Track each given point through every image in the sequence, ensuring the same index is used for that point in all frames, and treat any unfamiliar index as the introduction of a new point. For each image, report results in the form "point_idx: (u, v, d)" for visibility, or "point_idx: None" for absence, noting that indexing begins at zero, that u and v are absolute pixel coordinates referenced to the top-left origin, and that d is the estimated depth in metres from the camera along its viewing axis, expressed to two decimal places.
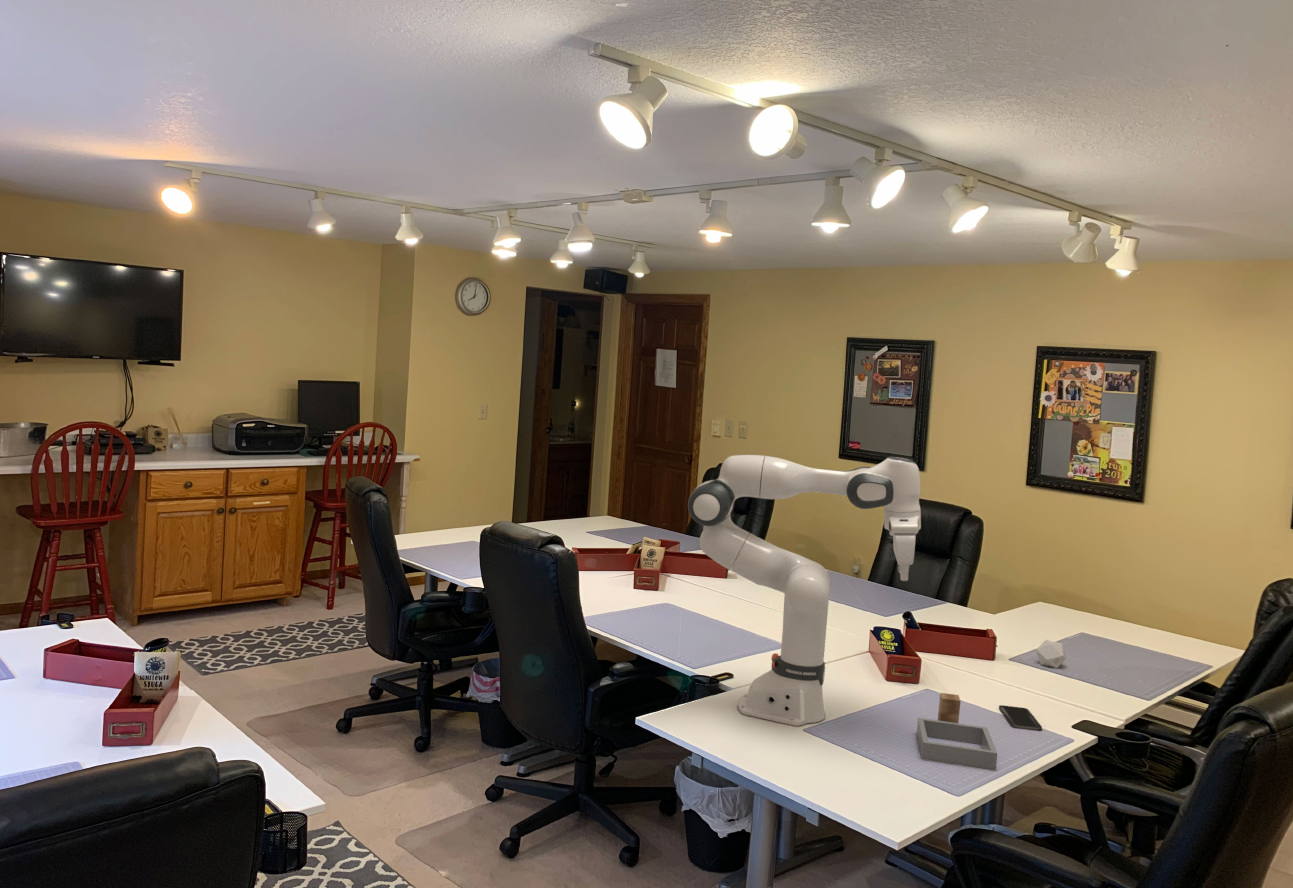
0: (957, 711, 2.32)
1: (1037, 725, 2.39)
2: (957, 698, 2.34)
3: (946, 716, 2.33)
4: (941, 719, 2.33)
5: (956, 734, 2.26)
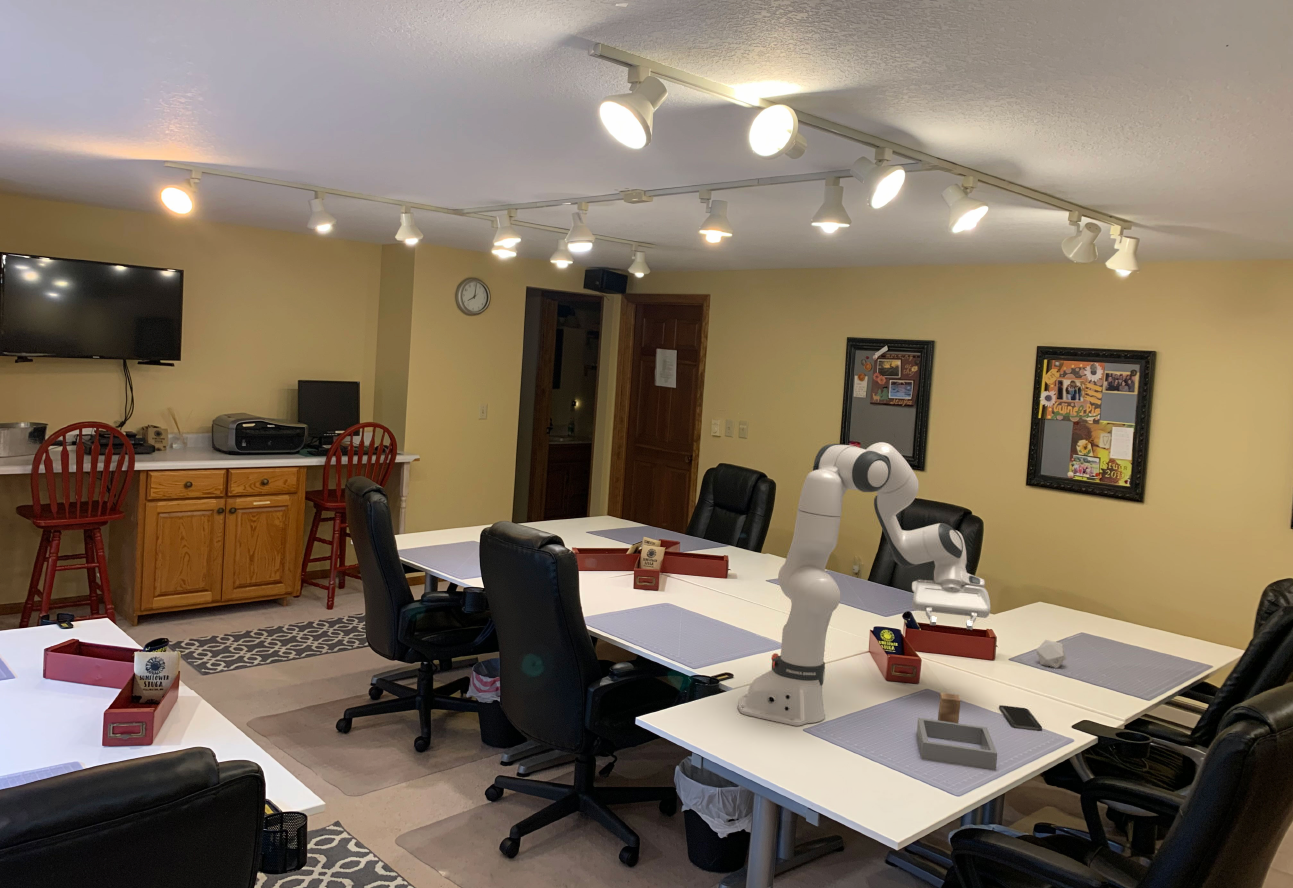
0: (957, 711, 2.32)
1: (1037, 725, 2.39)
2: (957, 698, 2.34)
3: (946, 716, 2.33)
4: (941, 719, 2.33)
5: (956, 734, 2.26)
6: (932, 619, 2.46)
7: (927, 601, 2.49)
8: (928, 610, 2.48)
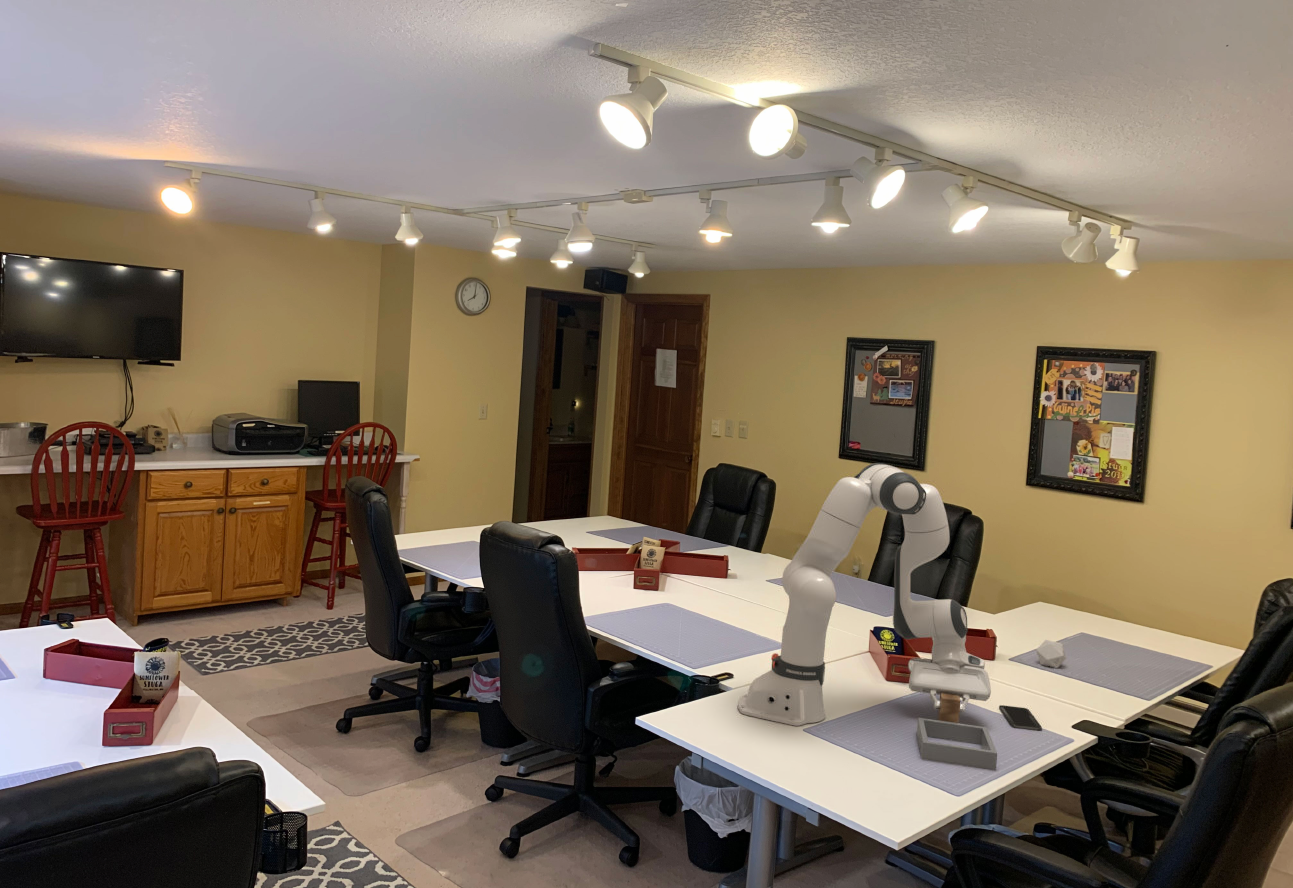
0: (957, 711, 2.32)
1: (1037, 725, 2.39)
2: (957, 698, 2.34)
3: (946, 715, 2.33)
4: (941, 719, 2.33)
5: (956, 734, 2.26)
6: (936, 703, 2.35)
7: (924, 682, 2.38)
8: (932, 693, 2.37)
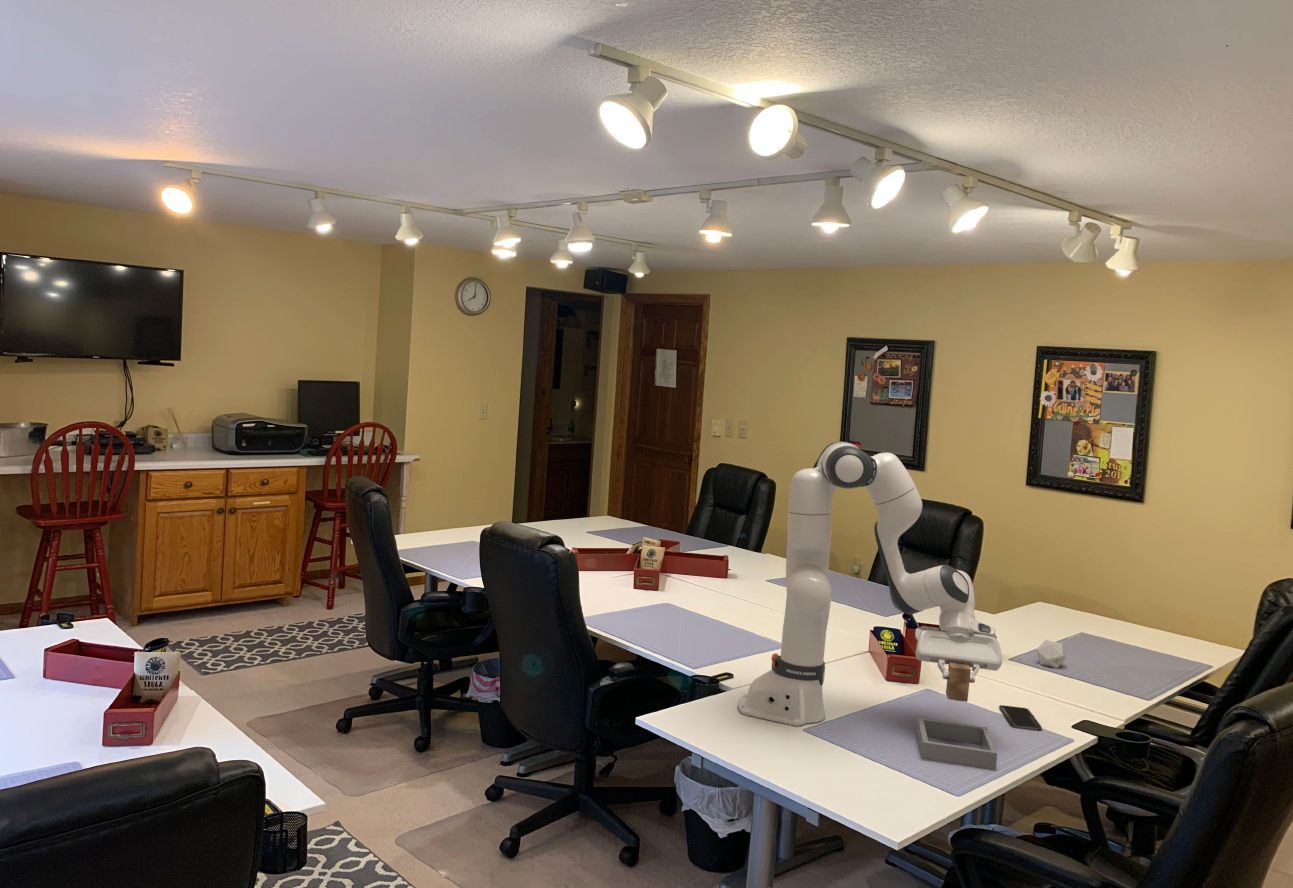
0: (967, 680, 2.21)
1: (1037, 725, 2.39)
2: (967, 667, 2.22)
3: (955, 685, 2.21)
4: (950, 689, 2.21)
5: (956, 734, 2.26)
6: (945, 673, 2.23)
7: (932, 651, 2.26)
8: (941, 662, 2.25)
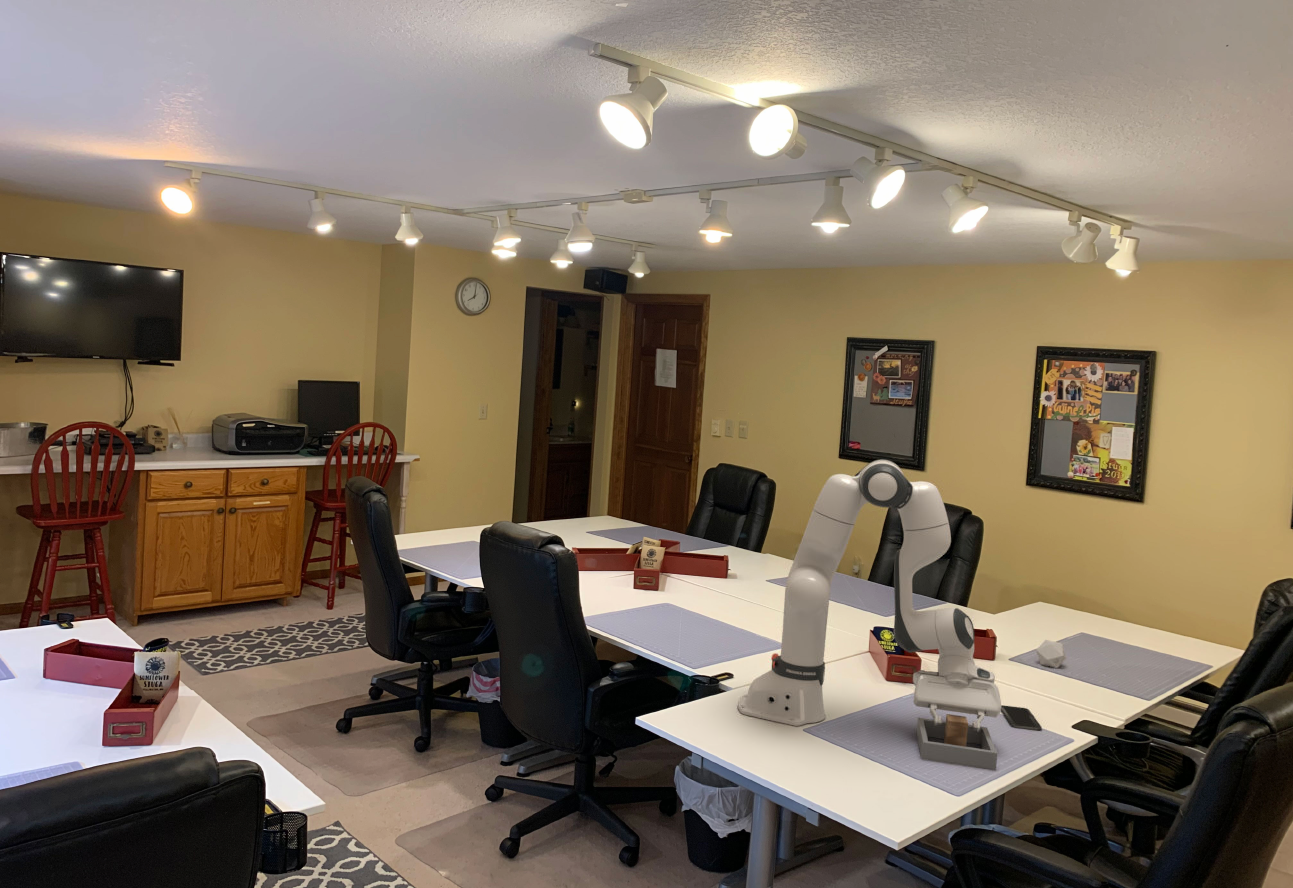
0: (964, 734, 2.17)
1: (1037, 725, 2.39)
2: (964, 720, 2.18)
3: (952, 739, 2.17)
4: (947, 743, 2.18)
5: None
6: (937, 719, 2.20)
7: (930, 697, 2.22)
8: (933, 708, 2.21)
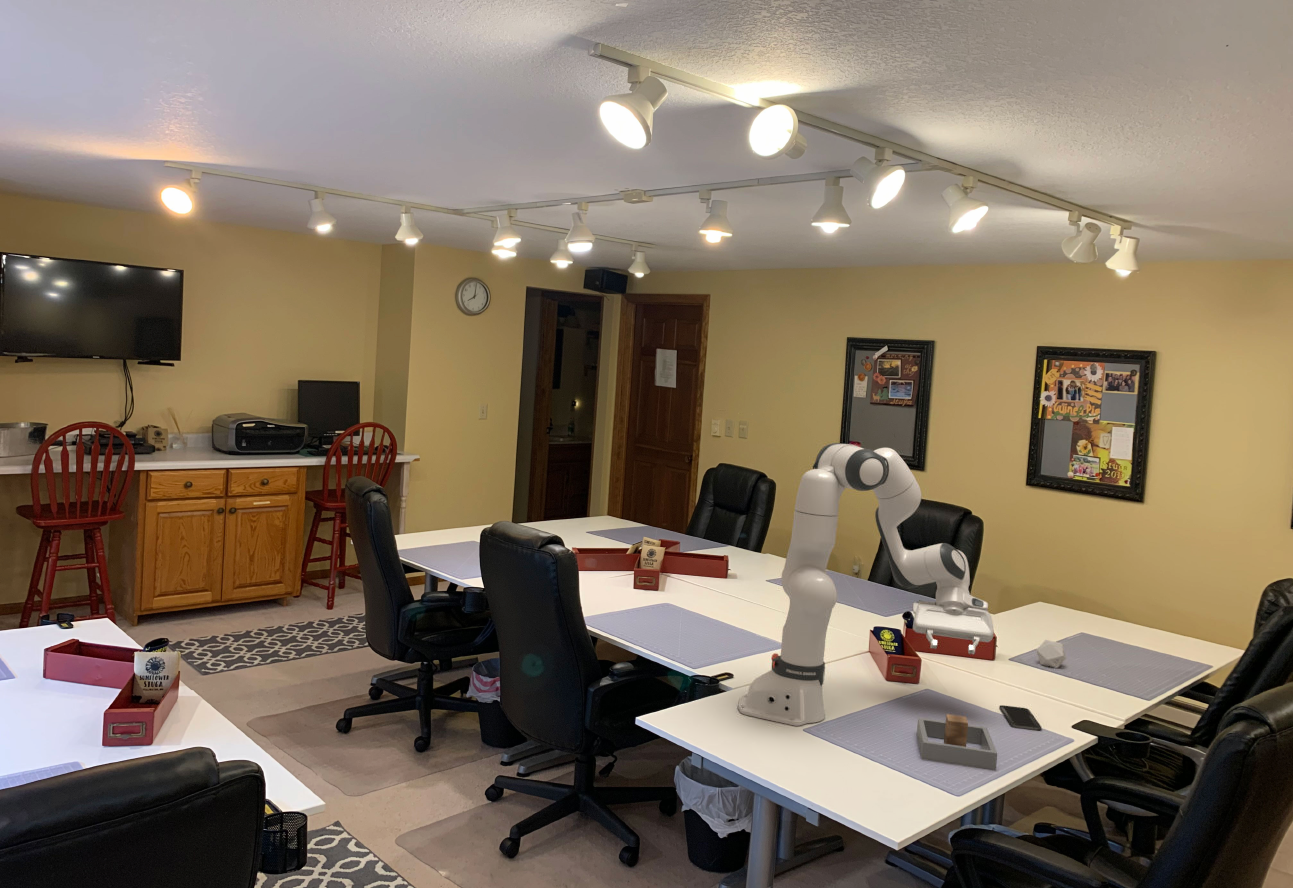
0: (964, 734, 2.17)
1: (1037, 725, 2.39)
2: (964, 720, 2.18)
3: (952, 739, 2.17)
4: (947, 743, 2.18)
5: None
6: (933, 642, 2.39)
7: (928, 623, 2.42)
8: (929, 633, 2.41)
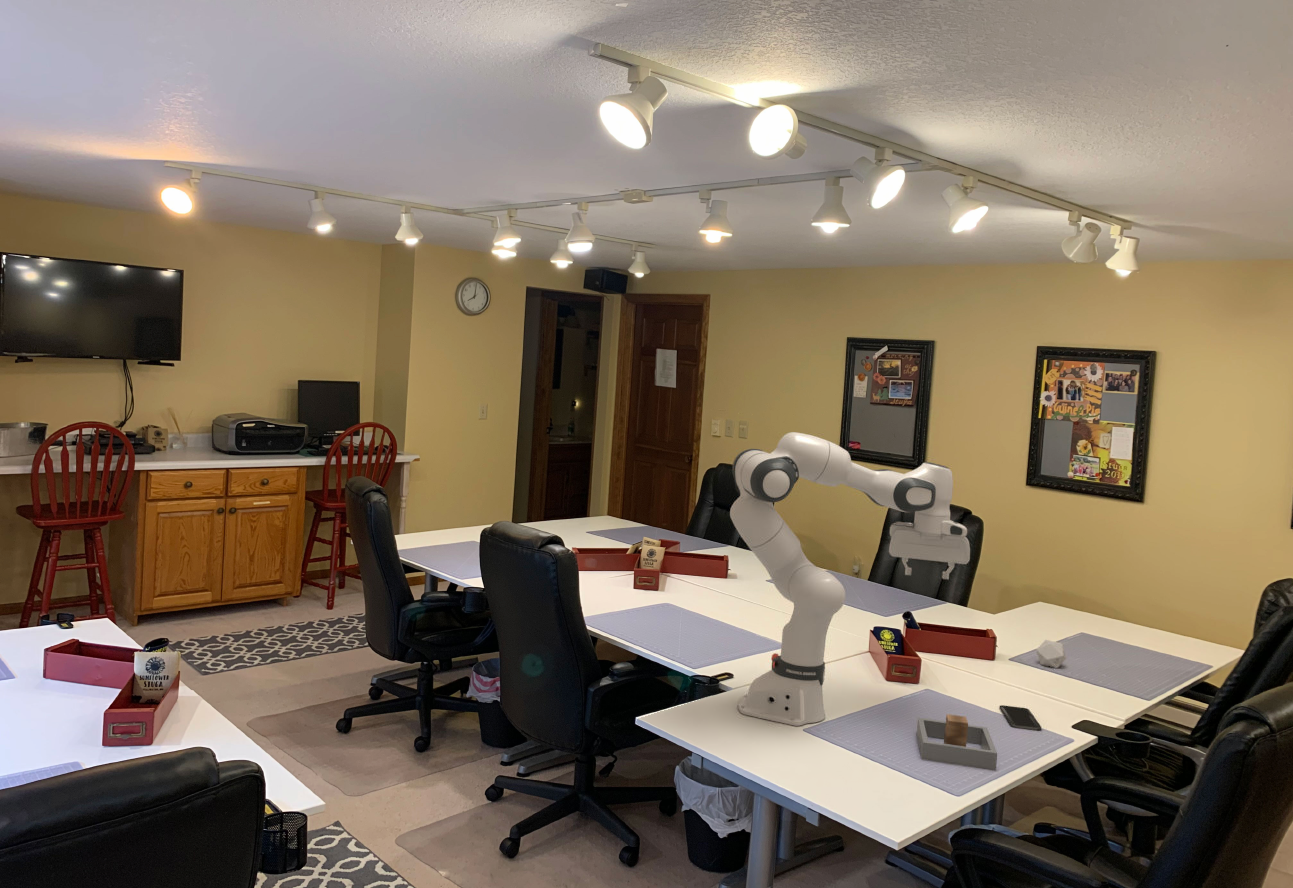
0: (965, 734, 2.17)
1: (1037, 725, 2.39)
2: (964, 720, 2.18)
3: (952, 739, 2.17)
4: (947, 743, 2.18)
5: None
6: (907, 571, 2.40)
7: (903, 553, 2.39)
8: (904, 561, 2.40)
